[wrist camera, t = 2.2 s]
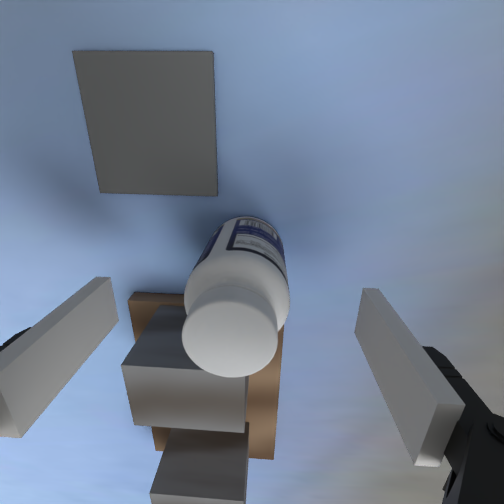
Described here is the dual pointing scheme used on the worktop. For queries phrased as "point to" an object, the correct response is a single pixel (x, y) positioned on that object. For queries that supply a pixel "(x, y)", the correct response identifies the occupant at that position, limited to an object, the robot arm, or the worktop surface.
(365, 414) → the worktop surface
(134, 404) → the board with two blocks
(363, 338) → the robot arm
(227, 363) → the pill bottle
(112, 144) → the pad
